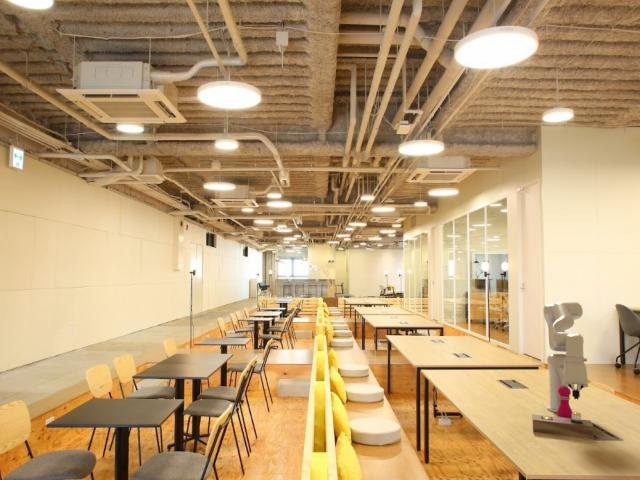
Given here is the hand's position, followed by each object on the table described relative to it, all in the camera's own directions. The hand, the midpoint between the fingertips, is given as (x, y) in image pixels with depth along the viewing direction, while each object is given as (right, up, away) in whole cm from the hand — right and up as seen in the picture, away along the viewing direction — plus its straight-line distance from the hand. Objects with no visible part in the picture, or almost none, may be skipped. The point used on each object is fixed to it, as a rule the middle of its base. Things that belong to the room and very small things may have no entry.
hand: (576, 398), depth 231 cm
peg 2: (0, -12, 0) cm, 12 cm away
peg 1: (-12, -16, +4) cm, 20 cm away
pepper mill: (+4, -19, +18) cm, 26 cm away
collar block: (-6, -17, +2) cm, 18 cm away
